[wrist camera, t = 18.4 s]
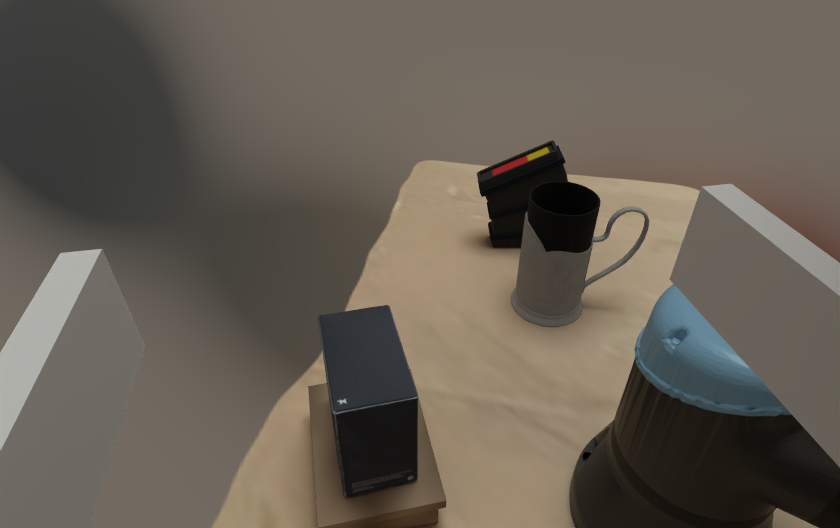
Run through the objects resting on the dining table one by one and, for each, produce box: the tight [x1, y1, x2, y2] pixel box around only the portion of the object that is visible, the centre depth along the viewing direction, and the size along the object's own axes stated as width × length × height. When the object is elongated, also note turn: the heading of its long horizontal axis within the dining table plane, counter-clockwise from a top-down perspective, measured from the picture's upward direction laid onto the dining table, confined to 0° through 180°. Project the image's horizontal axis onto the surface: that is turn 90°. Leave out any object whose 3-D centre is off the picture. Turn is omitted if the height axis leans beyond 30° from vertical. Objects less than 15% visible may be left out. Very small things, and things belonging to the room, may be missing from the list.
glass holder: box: [511, 181, 649, 327], centre depth 63 cm, size 9×14×15 cm, turn 89°
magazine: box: [477, 141, 568, 247], centre depth 74 cm, size 4×13×15 cm, turn 90°
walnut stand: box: [308, 369, 446, 528], centre depth 48 cm, size 10×14×4 cm
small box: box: [318, 305, 418, 497], centre depth 44 cm, size 11×6×10 cm, turn 14°
